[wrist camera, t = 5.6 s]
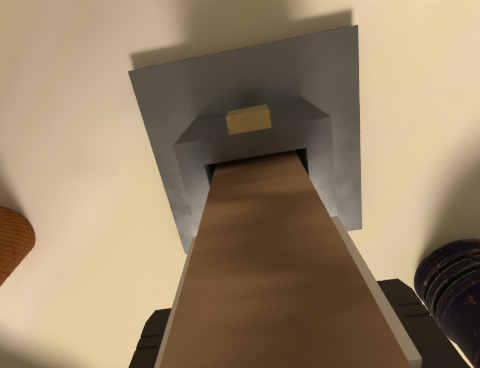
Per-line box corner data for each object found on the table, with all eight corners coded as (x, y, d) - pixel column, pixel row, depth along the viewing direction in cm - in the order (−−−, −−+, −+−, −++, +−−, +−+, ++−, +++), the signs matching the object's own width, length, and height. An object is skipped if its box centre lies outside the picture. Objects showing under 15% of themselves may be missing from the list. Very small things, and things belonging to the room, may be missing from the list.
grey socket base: (187, 245, 31) (164, 322, 22) (134, 70, 24) (67, 77, 15) (356, 221, 30) (405, 293, 21) (351, 26, 23) (422, 5, 14)
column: (232, 205, 24) (189, 690, 6) (219, 145, 22) (84, 598, 4) (295, 196, 23) (474, 690, 5) (287, 134, 21) (541, 582, 3)
